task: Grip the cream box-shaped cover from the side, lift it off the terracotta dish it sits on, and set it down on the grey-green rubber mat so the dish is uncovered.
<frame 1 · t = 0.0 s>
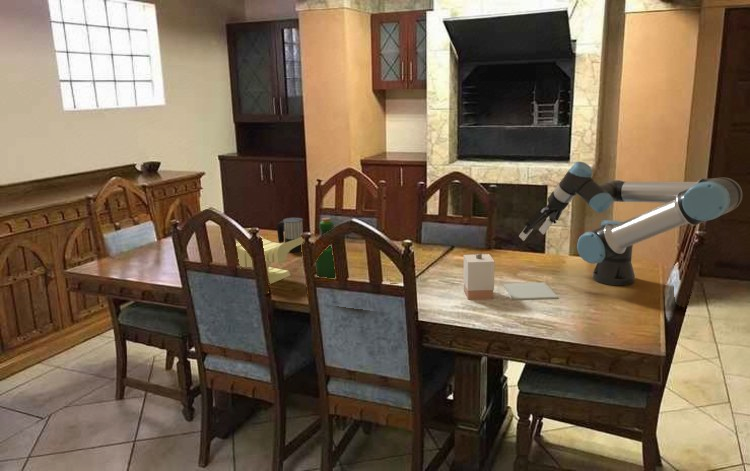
hand: (531, 235, 242), 15 cm above the table, tool tilted 35°, fingers open, 13 cm apart
mat: (529, 291, 223), on the table
cover: (478, 288, 220), point 2 cm above the table, touching dish
bottle: (329, 290, 231), on the table
bread roll: (393, 300, 219), on the table
milk frother: (287, 251, 285), on the table
dish: (478, 295, 221), on the table
slatted curved stool: (265, 278, 246), on the table
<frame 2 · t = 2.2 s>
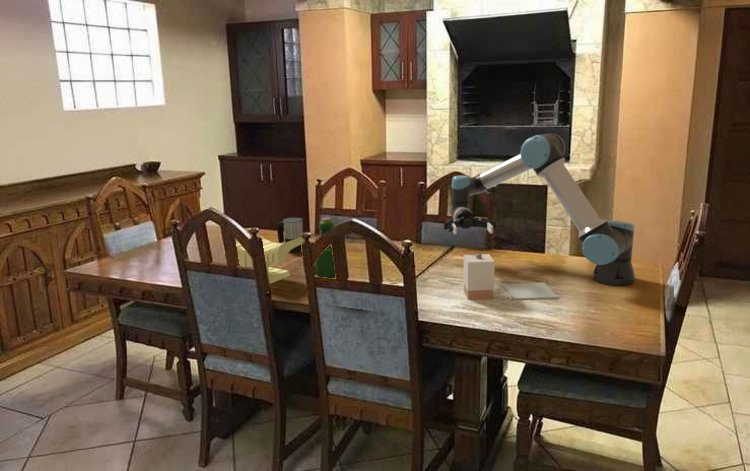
hand: (473, 230, 226), 22 cm above the table, tool horizontal, fingers open, 13 cm apart
nothing on the table moved.
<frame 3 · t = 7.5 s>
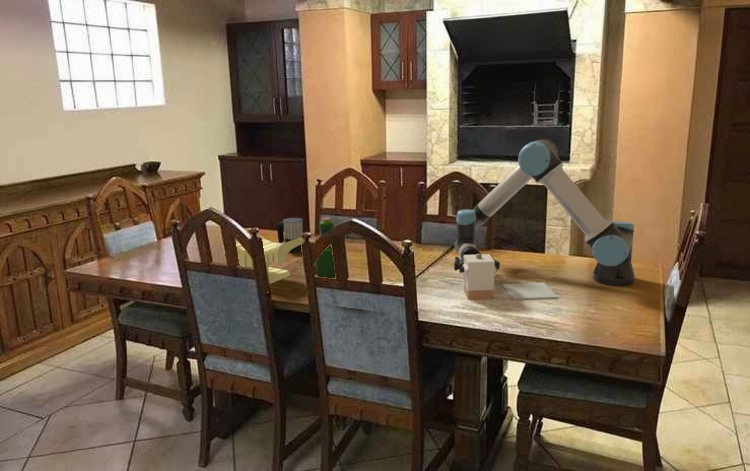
hand: (481, 272, 214), 10 cm above the table, tool horizontal, fingers closed on cover, 9 cm apart
cover: (478, 288, 220), point 2 cm above the table, touching dish, gripper
everything else where it was.
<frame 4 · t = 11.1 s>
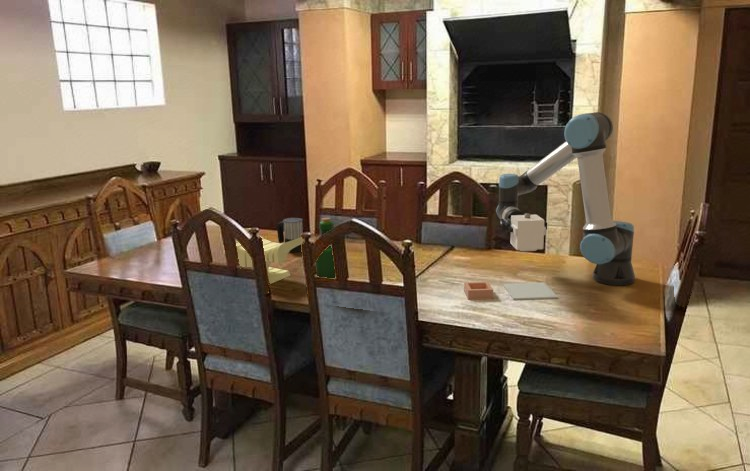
hand: (530, 231, 213), 24 cm above the table, tool horizontal, fingers closed on cover, 9 cm apart
cover: (526, 248, 219), point 16 cm above the table, touching gripper
when the fingers open (9 cm above the table, at t = 14.7 s): cover drops 1 cm, resting on mat.
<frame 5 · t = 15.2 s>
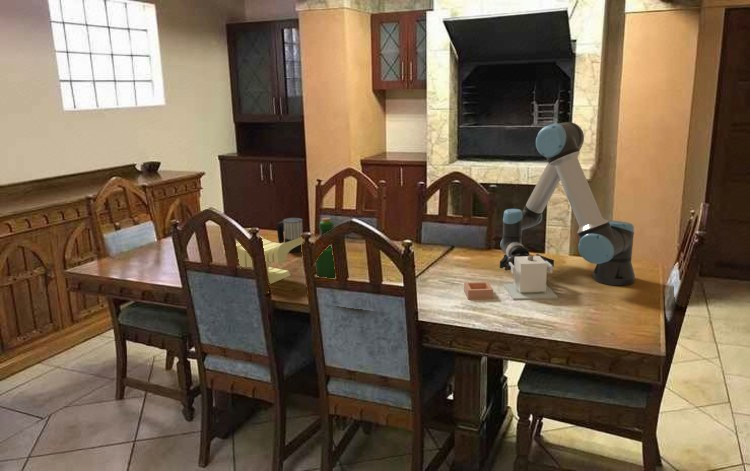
hand: (532, 270, 218), 9 cm above the table, tool horizontal, fingers open, 13 cm apart
cover: (529, 289, 223), point 1 cm above the table, touching mat
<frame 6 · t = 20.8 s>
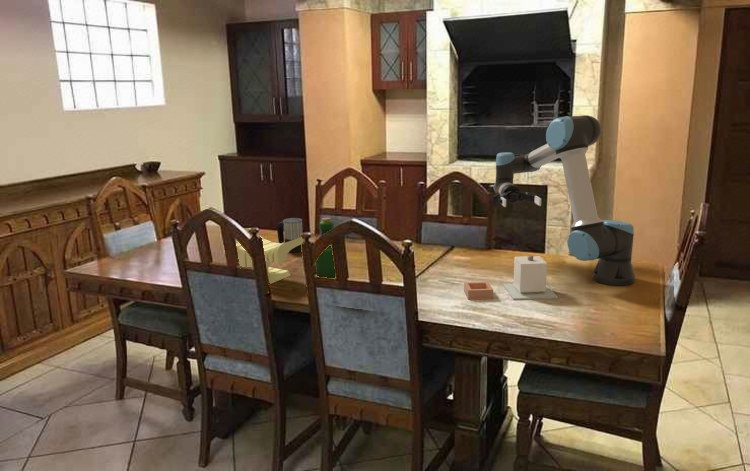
hand: (522, 202, 232), 30 cm above the table, tool horizontal, fingers open, 13 cm apart
at the end: cover inside the target area on the mat (0.1 cm from its centre), point 0.6 cm above the mat's base; cover tilted 0°; cover touching mat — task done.
